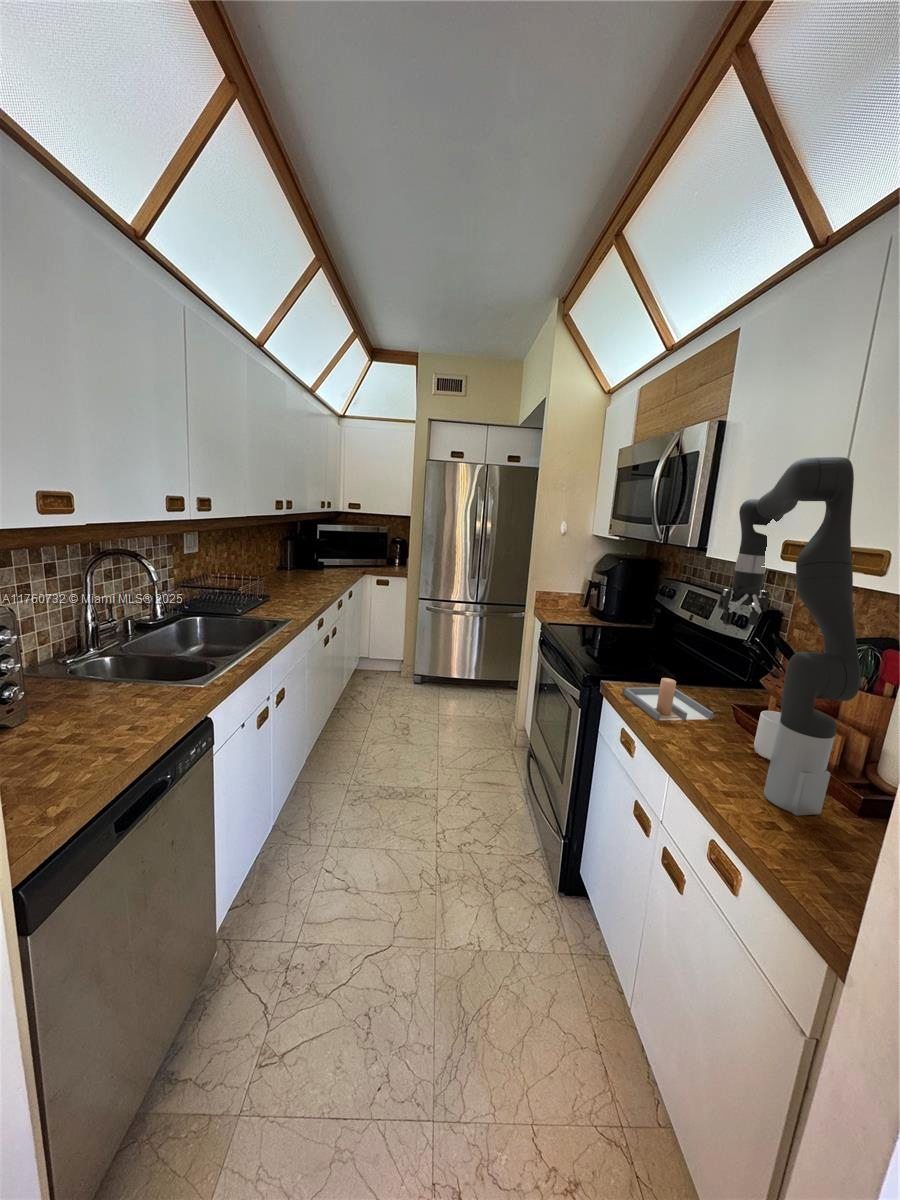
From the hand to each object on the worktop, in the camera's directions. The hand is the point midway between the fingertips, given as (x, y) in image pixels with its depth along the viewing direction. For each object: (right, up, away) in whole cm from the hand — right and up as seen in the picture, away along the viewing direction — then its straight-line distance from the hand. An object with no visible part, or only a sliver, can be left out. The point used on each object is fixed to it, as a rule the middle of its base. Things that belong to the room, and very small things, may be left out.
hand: (739, 624), depth 138 cm
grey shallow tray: (-19, -26, +6) cm, 33 cm away
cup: (-2, -32, -16) cm, 36 cm away
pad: (-22, -26, 0) cm, 35 cm away
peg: (-22, -26, 0) cm, 34 cm away
